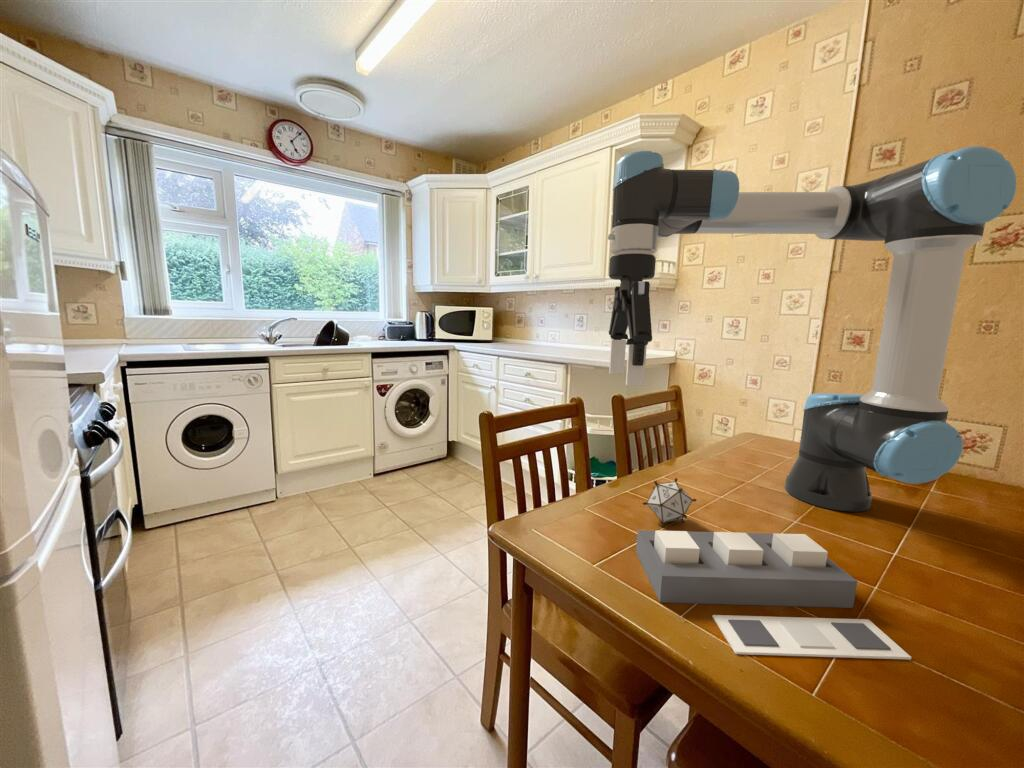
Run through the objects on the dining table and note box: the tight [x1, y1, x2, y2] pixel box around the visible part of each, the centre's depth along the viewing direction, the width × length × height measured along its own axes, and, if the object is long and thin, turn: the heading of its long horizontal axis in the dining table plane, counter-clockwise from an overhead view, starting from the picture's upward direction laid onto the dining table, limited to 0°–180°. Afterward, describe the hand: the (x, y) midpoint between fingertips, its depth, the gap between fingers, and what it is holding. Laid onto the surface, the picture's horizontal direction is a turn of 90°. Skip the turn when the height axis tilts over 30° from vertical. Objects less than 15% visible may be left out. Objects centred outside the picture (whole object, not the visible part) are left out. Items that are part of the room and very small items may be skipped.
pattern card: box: [711, 614, 912, 660], centre depth 51 cm, size 20×6×1 cm, turn 89°
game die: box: [642, 477, 698, 528], centre depth 78 cm, size 9×8×10 cm
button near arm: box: [771, 532, 829, 567], centre depth 61 cm, size 5×5×3 cm
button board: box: [635, 529, 858, 609], centre depth 62 cm, size 26×12×4 cm, turn 89°
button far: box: [654, 530, 700, 564], centre depth 62 cm, size 5×5×3 cm
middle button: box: [712, 531, 764, 566], centre depth 62 cm, size 5×5×3 cm
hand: (624, 379), depth 74 cm, fingers open, 13 cm apart
